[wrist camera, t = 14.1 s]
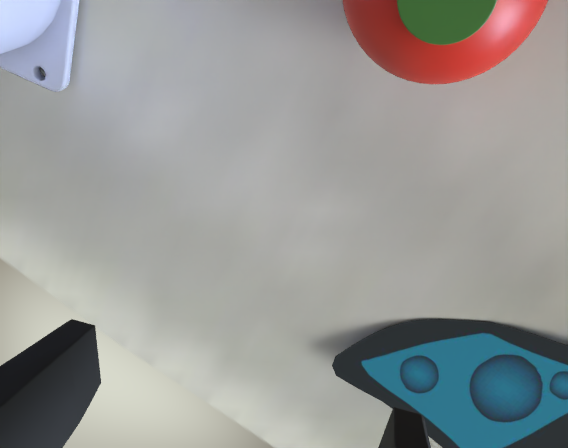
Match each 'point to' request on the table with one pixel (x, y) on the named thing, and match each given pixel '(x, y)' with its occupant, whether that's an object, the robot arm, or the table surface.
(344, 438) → the table surface
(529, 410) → the decorative butterfly
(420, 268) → the table surface
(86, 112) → the table surface
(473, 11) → the tomato
